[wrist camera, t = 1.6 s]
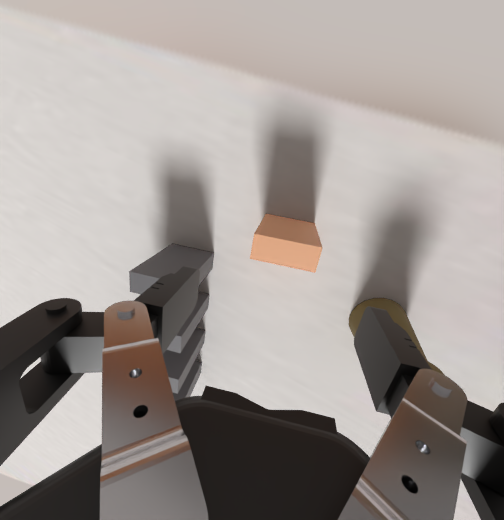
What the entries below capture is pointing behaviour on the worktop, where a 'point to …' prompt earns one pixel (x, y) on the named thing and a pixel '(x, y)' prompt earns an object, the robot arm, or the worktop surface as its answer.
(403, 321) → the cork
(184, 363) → the domino
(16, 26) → the worktop surface
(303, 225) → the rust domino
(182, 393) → the domino
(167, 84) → the worktop surface
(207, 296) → the domino
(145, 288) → the domino
